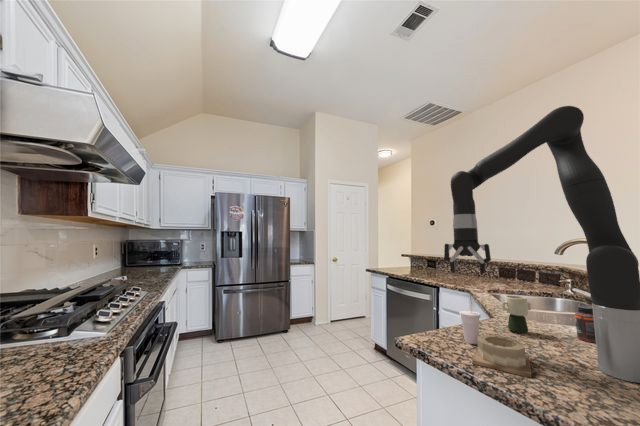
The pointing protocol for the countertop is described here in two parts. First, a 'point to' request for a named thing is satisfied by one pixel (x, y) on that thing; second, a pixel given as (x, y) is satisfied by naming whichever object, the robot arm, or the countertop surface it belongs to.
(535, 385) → the countertop surface
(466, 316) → the smoothie
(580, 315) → the supplement bottle
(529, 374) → the bottle holder
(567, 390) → the countertop surface
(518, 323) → the character mug
